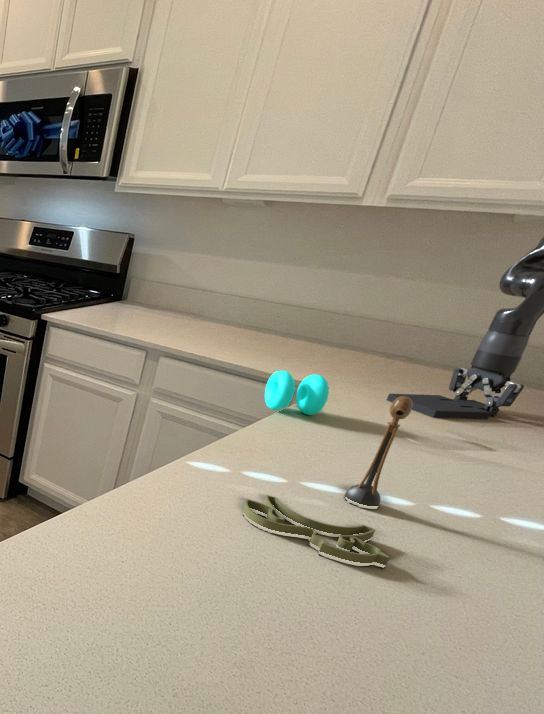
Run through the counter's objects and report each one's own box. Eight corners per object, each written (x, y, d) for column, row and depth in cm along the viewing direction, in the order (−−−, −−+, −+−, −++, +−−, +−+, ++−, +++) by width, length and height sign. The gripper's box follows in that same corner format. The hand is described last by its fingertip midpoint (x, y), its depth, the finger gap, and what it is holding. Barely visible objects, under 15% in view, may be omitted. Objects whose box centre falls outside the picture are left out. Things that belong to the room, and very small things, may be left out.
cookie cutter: (386, 544, 90) (391, 533, 89) (383, 578, 82) (388, 566, 81) (249, 499, 102) (252, 489, 101) (234, 525, 93) (237, 514, 93)
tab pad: (467, 412, 151) (473, 399, 150) (493, 421, 145) (499, 408, 144) (434, 411, 150) (439, 398, 149) (458, 420, 145) (464, 407, 144)
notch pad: (434, 407, 153) (439, 395, 152) (484, 425, 142) (490, 412, 141) (383, 406, 153) (389, 393, 151) (430, 424, 141) (436, 410, 140)
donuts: (321, 421, 139) (336, 382, 136) (272, 414, 142) (286, 376, 139) (304, 407, 148) (317, 370, 145) (258, 401, 151) (270, 365, 148)
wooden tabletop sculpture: (375, 515, 99) (423, 405, 92) (340, 503, 102) (384, 396, 95) (379, 503, 102) (425, 397, 95) (345, 493, 105) (388, 389, 98)
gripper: (550, 360, 135) (516, 426, 141) (482, 343, 149) (454, 404, 155) (520, 359, 135) (487, 425, 141) (454, 342, 148) (427, 403, 154)
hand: (470, 414), depth 148 cm, fingers closed on tab pad, 6 cm apart
